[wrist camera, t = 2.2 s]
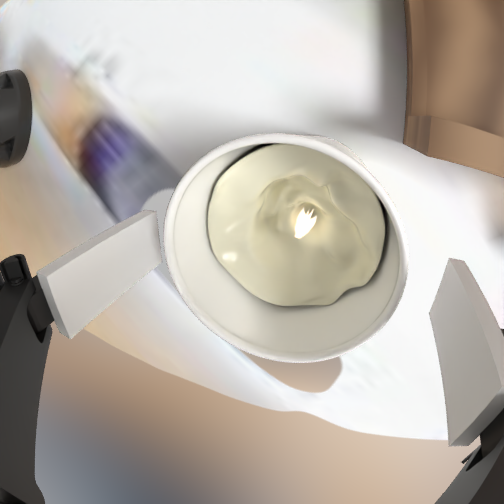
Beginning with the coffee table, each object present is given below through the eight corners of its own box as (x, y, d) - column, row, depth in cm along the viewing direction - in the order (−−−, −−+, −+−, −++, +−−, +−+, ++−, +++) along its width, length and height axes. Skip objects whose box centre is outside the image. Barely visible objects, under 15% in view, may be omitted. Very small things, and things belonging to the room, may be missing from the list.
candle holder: (406, 203, 19) (453, 296, 9) (309, 273, 24) (269, 386, 14) (318, 97, 18) (276, 72, 8) (227, 184, 23) (128, 247, 13)
